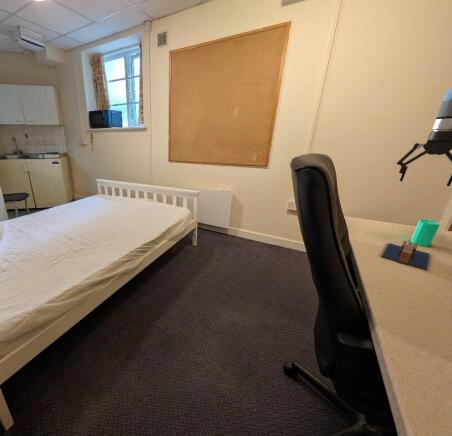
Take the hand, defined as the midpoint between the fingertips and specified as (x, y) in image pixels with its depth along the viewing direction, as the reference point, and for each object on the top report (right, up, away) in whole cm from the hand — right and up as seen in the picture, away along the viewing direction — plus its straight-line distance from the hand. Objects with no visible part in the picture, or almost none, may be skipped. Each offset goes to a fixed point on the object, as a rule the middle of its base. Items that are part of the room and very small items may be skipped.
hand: (423, 183), depth 95 cm
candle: (+4, -27, +5) cm, 28 cm away
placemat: (-14, -31, -5) cm, 34 cm away
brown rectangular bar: (-16, -31, -7) cm, 35 cm away
